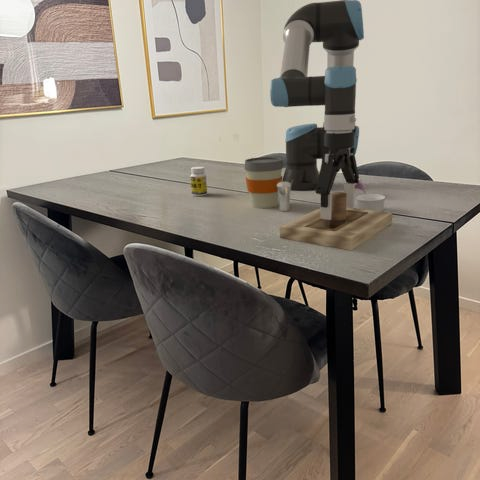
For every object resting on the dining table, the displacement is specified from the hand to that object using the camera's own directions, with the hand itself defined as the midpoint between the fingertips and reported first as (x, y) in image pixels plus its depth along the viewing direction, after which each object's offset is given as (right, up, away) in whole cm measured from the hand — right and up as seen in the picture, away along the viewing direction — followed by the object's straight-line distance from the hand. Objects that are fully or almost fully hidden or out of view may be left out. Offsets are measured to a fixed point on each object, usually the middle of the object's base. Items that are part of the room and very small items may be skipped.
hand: (337, 212), depth 127 cm
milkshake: (-12, +2, +24) cm, 27 cm away
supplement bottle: (-41, +10, +52) cm, 67 cm away
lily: (+15, +8, +39) cm, 42 cm away
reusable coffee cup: (-18, +4, +32) cm, 37 cm away
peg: (0, -5, +1) cm, 5 cm away
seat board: (0, -5, +1) cm, 5 cm away
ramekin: (+14, +2, +20) cm, 24 cm away
